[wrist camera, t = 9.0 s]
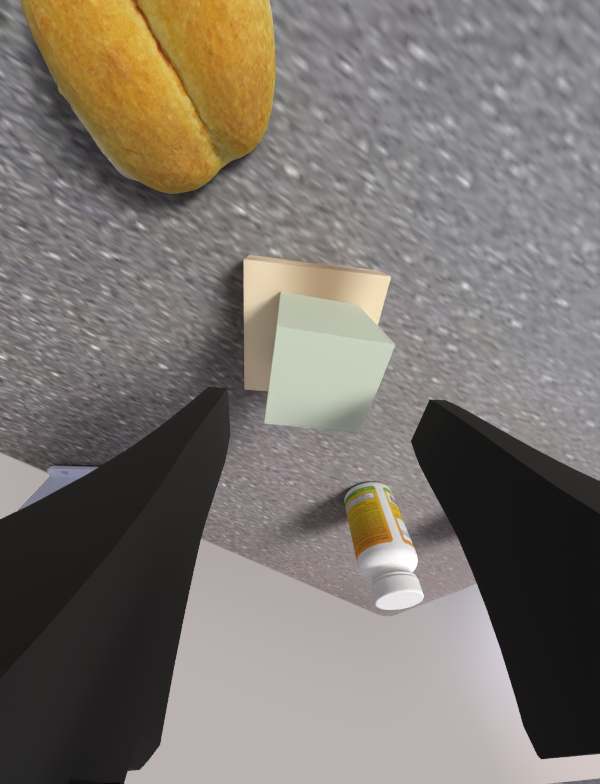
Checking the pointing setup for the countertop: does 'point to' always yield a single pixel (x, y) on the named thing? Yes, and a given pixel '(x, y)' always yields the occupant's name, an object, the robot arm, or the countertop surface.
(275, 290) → the beech block
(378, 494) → the supplement bottle
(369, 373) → the sage block
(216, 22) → the bread roll
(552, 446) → the countertop surface
